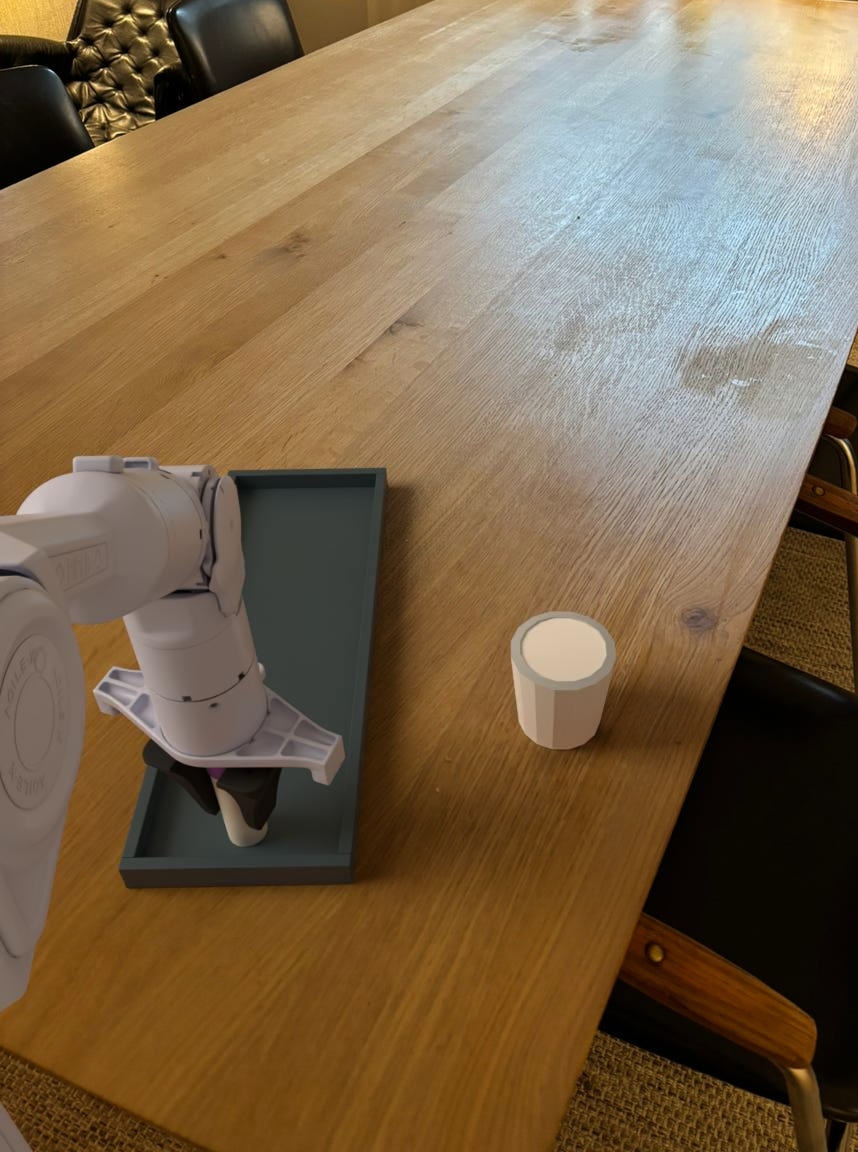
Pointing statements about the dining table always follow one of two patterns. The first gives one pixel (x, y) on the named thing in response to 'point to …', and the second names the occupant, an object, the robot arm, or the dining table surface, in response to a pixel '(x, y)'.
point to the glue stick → (234, 815)
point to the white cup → (561, 677)
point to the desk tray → (288, 684)
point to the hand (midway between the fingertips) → (241, 808)
